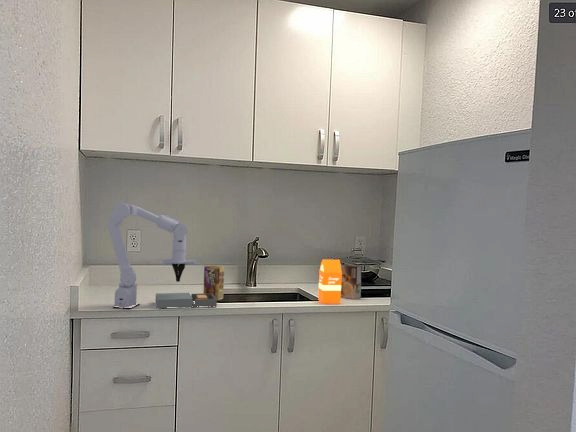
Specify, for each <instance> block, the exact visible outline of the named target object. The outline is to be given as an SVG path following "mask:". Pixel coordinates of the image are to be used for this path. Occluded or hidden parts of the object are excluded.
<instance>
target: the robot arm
mask: <svg viewBox="0 0 576 432" xmlns="http://www.w3.org/2000/svg"><path fill="white" fill-rule="evenodd" d="M129 215H130V216H131V217H135V216H136V217H137V216H139V217H141V218H143V219H145V220H147V221H150V222H153V223H154V224H155V225H156V228H159V229H161V230H163V231H166V232H167V233H173V234H172V235H173V239H172V250H171V252H172V255H171V259H161V265H162V266H166V265H167V266H168V265H169V266H172V268H173V271H174V275H175V281H176V283H179V282H180V281H181V277H182V274H183V272H184V270H185V268H186V266H187V265H188V266H190V265H192V266H196V262H197V261H196V260H195V259H186V252H187V251H186V250H187V249H186V248H187V239H186V238H187V234H188V227H187V226H186V225H185V224H184V223H182V222H181V221H179V220H178V219H173V218H171V217H169V215H168V214H165V215H164V214H161V215H157V214H155V213H152V212H151V211H148V210H146V209H144V208H142V207H139V206H137V205H135V204H134V205H133V204H130V203H129V204H128V203H127V202H124V201H121V202H118V203H117V204H116V205H115V206H114V208H112V209H111V213H110V216H109V218H108V221H107V229H108V232H109V235H110V239H111V243H112V246H113V250H114V253H115V256H116V260H117V263H118V267H119V271H120V277H119V278H120V279H119V280H120V282H119V284H118V288H117V289H116V290H115V292H114V306H119V307H129V306H132V305H136V303H137V294H138V293H137V291H138V289H137V287H138V284H137V283H136V281H137V276H136V273H137V272H136V271H135V270H134V269H133V268H132V265H131V261H130V259H129V256H128V255H129V254H128V252H127V249H126V245H125V244H126V243H125V242H124V238H123V234H122V231H121V227H120V225H121V224H122V223H123V221H124V220H125V219H126V218H127V217H128V216H129Z"/></svg>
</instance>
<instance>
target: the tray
mask: <svg viewBox="0 0 576 432" xmlns="http://www.w3.org/2000/svg"><path fill="white" fill-rule="evenodd" d="M190 295H191V297H192V306H193V307H197V306H198V307H199V306H217V304H218V300H217V299H216V297H215V296H214V295H213V294H212V293H204V292H203V293H191V294H190ZM196 295H206V296H207V297H208V299H196ZM193 301H195V304H194V302H193ZM193 307H192V308H193Z"/></svg>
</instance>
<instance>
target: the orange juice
mask: <svg viewBox="0 0 576 432" xmlns="http://www.w3.org/2000/svg"><path fill="white" fill-rule="evenodd" d="M341 265H342V264H341V260H340V259H322V260H321V262H320V268H319V272H318V273H319V276H318V293H317V294H318V296H317V297H318V299H317V300H318V301H319V303H321V302H322V303H321V304H341V301H342V300H341V298H342V297H341V278H342V272H341Z"/></svg>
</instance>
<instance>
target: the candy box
mask: <svg viewBox="0 0 576 432" xmlns="http://www.w3.org/2000/svg"><path fill="white" fill-rule="evenodd" d="M203 268H204V270H203V293H212V294H213V295H214V296H215V297H216V299H217V301H220V300H223V299H224V286H225V284H224V283H225V266H219V265H211V264H210V265H209V264H208V265H204V266H203Z"/></svg>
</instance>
